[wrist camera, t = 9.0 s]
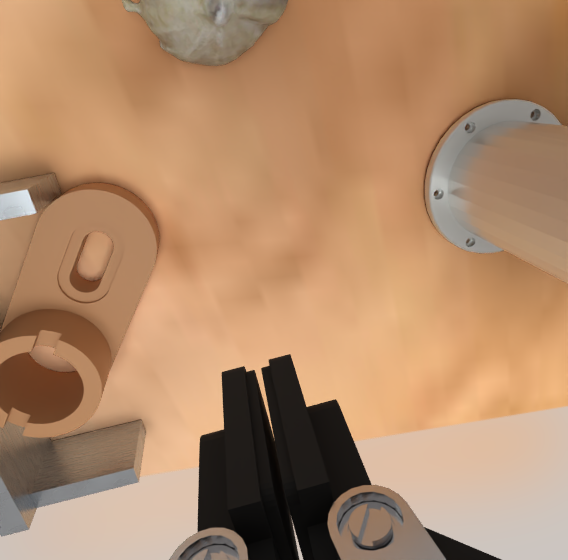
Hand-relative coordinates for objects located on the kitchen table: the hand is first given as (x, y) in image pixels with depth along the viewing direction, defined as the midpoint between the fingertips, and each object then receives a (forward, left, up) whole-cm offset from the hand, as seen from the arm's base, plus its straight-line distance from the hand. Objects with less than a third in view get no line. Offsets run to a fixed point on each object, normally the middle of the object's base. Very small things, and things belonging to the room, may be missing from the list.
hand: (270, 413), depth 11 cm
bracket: (+12, +6, -28) cm, 31 cm away
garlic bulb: (-2, -12, -28) cm, 30 cm away
